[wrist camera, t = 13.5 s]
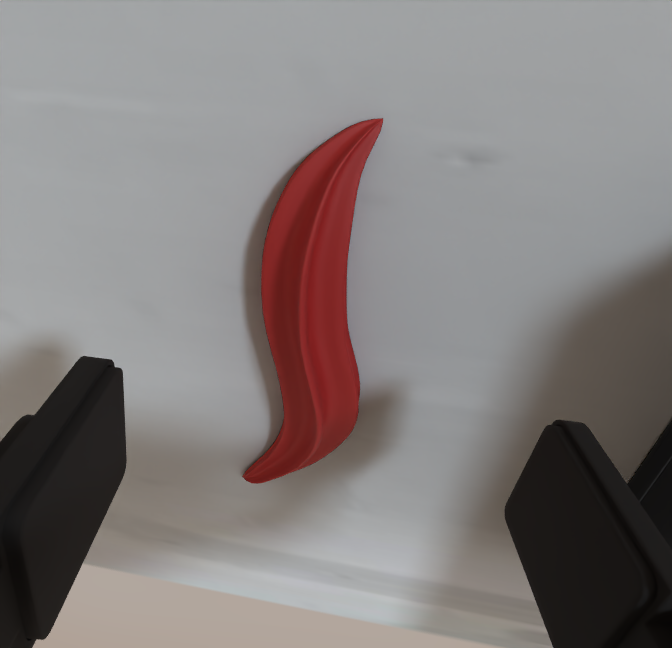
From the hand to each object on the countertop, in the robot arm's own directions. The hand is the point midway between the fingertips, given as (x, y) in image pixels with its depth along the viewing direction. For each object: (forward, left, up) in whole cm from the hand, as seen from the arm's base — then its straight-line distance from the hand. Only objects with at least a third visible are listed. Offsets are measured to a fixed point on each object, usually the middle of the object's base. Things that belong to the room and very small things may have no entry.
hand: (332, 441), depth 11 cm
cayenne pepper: (-1, 0, -4) cm, 4 cm away
